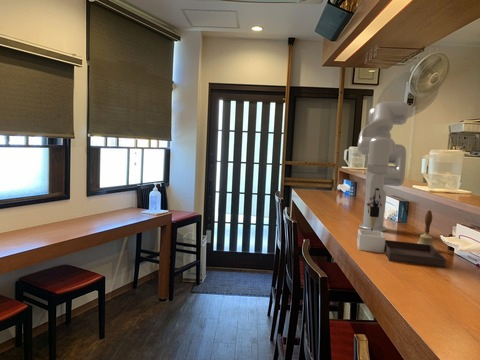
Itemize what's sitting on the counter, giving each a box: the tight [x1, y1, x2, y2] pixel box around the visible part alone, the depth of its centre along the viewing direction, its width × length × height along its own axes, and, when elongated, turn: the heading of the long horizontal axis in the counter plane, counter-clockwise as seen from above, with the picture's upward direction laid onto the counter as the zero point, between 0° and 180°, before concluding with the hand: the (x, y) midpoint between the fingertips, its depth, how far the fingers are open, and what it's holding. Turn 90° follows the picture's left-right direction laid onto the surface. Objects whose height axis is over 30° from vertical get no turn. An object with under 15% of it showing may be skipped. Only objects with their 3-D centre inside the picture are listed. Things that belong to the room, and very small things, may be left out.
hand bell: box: [417, 209, 435, 248], centre depth 139 cm, size 8×8×16 cm
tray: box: [384, 239, 447, 269], centre depth 129 cm, size 18×18×3 cm
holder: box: [356, 228, 386, 254], centre depth 137 cm, size 9×9×6 cm
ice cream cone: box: [366, 198, 382, 231], centre depth 137 cm, size 6×6×15 cm
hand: (373, 214), depth 137 cm, fingers closed on ice cream cone, 5 cm apart
